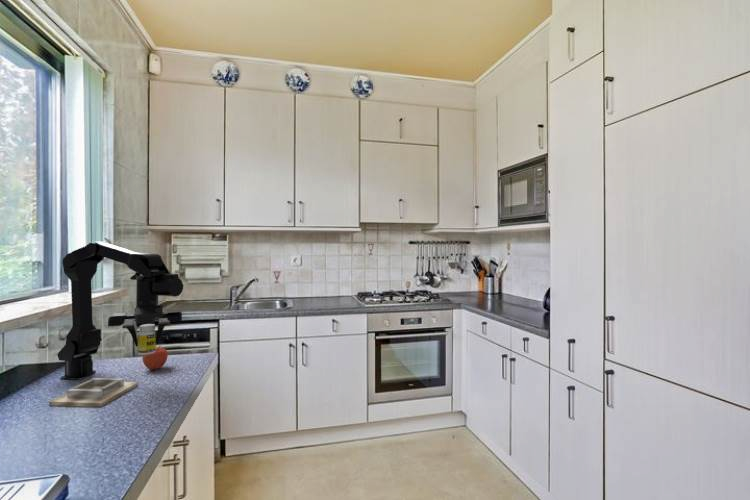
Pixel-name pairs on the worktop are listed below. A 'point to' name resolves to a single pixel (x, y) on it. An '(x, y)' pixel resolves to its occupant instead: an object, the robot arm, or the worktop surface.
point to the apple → (155, 359)
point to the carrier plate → (94, 392)
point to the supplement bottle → (147, 339)
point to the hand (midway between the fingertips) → (146, 345)
